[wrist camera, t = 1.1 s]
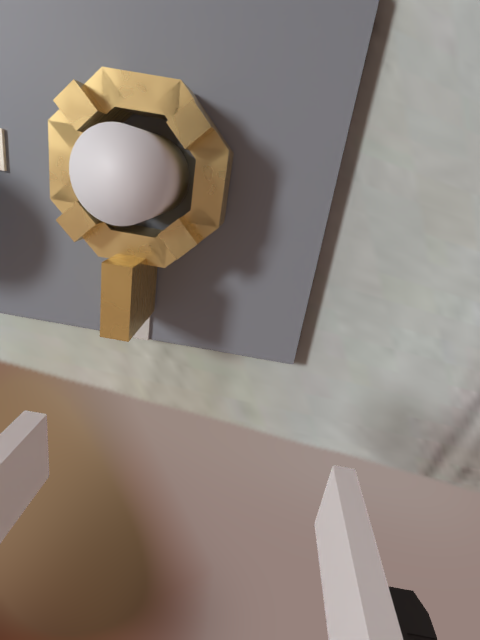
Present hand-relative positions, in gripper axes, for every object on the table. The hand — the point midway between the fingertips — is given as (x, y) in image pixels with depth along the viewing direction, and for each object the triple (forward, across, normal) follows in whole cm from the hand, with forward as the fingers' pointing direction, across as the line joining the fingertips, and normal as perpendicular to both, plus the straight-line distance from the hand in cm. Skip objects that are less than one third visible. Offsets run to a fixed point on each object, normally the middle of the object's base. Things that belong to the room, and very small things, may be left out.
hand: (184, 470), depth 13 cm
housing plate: (+18, -7, +8) cm, 21 cm away
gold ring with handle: (+16, -7, +6) cm, 19 cm away
